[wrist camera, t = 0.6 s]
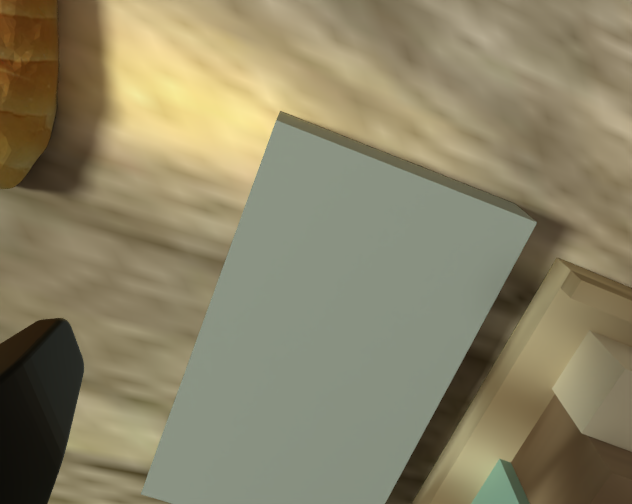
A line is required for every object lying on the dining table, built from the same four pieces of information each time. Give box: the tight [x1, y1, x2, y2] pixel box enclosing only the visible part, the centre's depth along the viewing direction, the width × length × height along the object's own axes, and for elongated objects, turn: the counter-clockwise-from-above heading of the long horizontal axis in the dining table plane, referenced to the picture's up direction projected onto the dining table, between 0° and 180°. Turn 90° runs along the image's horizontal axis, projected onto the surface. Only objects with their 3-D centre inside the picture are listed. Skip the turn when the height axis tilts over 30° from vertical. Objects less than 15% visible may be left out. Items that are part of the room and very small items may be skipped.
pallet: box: [412, 258, 632, 504], centre depth 25 cm, size 14×7×7 cm, turn 157°
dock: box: [141, 111, 537, 504], centre depth 25 cm, size 17×10×2 cm, turn 159°
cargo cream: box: [552, 330, 632, 452], centre depth 24 cm, size 3×3×3 cm
